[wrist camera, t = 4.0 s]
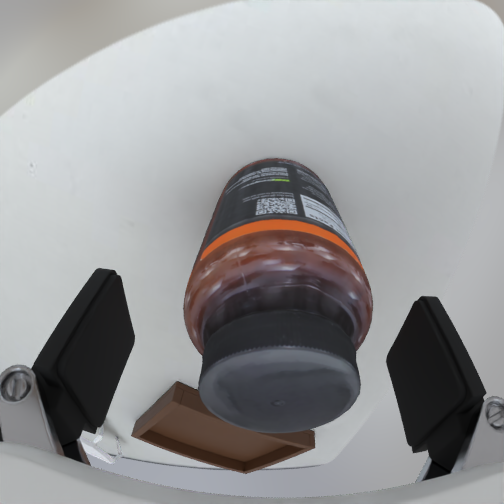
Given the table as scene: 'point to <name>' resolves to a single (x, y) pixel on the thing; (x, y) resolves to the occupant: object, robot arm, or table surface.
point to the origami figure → (97, 451)
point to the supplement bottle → (277, 303)
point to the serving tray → (214, 434)
